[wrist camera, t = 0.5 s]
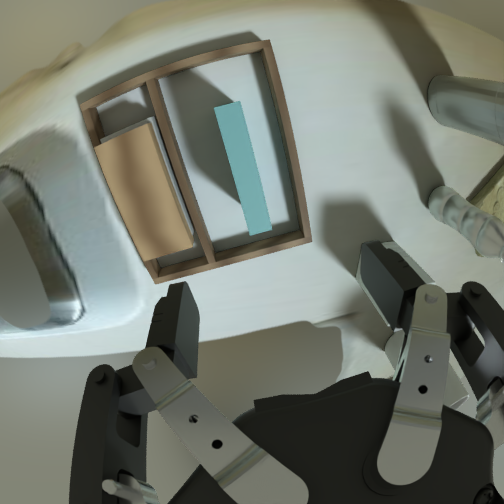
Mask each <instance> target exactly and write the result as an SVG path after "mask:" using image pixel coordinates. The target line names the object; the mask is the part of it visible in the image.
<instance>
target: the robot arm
mask: <svg viewBox="0 0 504 504" xmlns="http://www.w3.org/2000/svg"><path fill="white" fill-rule="evenodd" d="M428 103H429V107H430V110H431V113H432V115H433V116H434V118H435V119H436V121H438V122H439V123H440V124H441V125H443V126H447V127H450V128H454V129H457V130H460V131H463V132H467V133H470V134H473V135H476V136H479V137H482V138H484V139H487V140H490V141H493V142H495V143H498V144H500V145H503V146H504V83H503V82H497V81H491V80H485V79H478V78H469V77H459V76H447V75H439V76H436V77H434V78H433V80H432V81H431V83H430V85H429V88H428ZM360 275H361V279H362V282H363V284H364V285H365V287H366V288H367V290H368V291H369V293H370V295H371V296H372V298H373V299H374V301H375V302H376V304H377V306H378V307H379V309H380V310H381V312H382V314H383V315H384V317H385V319H386V320H387V322H388V323H389V325H390V327H391V328H392V330H393V332H396V331H399V330H402V329H403V331H404V333H405V334H404V337H403V341H402V345H401V350H400V354H399V358H398V362H397V366H396V370H395V373H394V376H393V379H392V380H390V379H384V378H371V376H370V373H369V371H367V372H364V373H361V374H358V375H355V376H352V377H349V378H346V379H342V380H340V381H339V382H337V383H335V384H333V385H331V386H330V387H328V388H326V389H324V390H322V391H320V392H318V393H316V394H305V395H278V396H273V397H268V398H262V399H257V400H254V406H255V408H252V409H250V410H248V411H247V412H245V413H243V414H241V415H240V416H238V417H237V418H236V419H235V420H234V421H233V422H230V421H229V420H228V419H227V418H226V417H225V416H224V415H223V414H222V413H221V412H220V411H219V410H218V409H217V408H216V407H215V406H214V405H213V404H212V403H211V402H210V401H209V400H208V399H207V398H206V397H205V396H204V395H203V394H202V393H201V392H200V391H199V390H198V389H197V388H196V386H195V385H194V384H193V383H192V382H191V381H188V379H190V378H197V361H198V340H199V323H200V316H199V311H198V307H197V305H196V302H195V300H194V298H193V295H192V293H191V290H190V288H189V286H188V283H187V282H186V281H185V282H180V283H175V284H170V285H169V288H168V293H167V296H166V297H161V299H160V300H159V301H158V303H157V304H156V305H155V309H154V313H153V317H152V321H151V322H152V323H151V325H150V330H149V334H148V338H147V343H146V347H145V349H143V350H141V351H140V352H139V353H138V354H137V355H136V356H135V358H134V360H133V363H132V365H129V366H127V367H124V368H122V369H119V370H116V371H115V370H114V369H113V368H112V367H111V366H110V365H107V364H103V365H99V366H97V367H96V368H94V369H93V370H92V371H91V372H90V374H89V376H88V378H87V382H86V387H85V390H84V395H83V400H82V404H81V409H80V414H79V419H78V425H77V430H76V437H75V443H74V450H73V458H72V467H71V477H70V492H69V504H160V503H159V501H158V496H157V493H156V491H155V489H154V488H153V487H152V486H151V485H150V484H148V483H146V443H147V442H146V441H147V418H148V412H151V411H154V410H158V411H159V413H160V414H161V416H162V417H163V418H164V420H165V421H166V423H167V424H168V425H169V426H170V428H171V429H172V430H173V432H174V433H175V434H176V435H177V437H178V438H179V439H180V441H181V442H182V443H183V444H184V445H185V447H186V448H187V449H188V450H189V451H190V453H191V454H192V455H193V456H194V457H195V458H196V459H197V461H198V462H199V463H200V465H199V466H198V467H197V468H196V470H195V471H194V472H193V474H192V475H191V476H190V477H189V479H188V480H187V481H186V482H185V483H184V485H183V486H182V487H181V488H180V490H179V491H178V492H177V493H176V494H175V495H174V497H173V498H172V499H171V500H170V501H169V502H168V504H504V499H503V498H502V497H501V496H500V494H499V493H498V491H497V490H496V488H495V486H494V482H493V456H494V450H495V449H496V448H498V447H499V446H500V445H502V444H503V443H504V310H503V309H502V308H501V306H500V305H499V304H498V303H497V301H496V300H495V299H494V298H493V296H492V295H491V294H490V293H489V292H488V291H487V289H486V288H485V287H484V286H483V285H481V284H479V283H477V282H473V281H470V282H466V283H465V284H463V286H462V289H461V292H457V293H445V291H444V290H443V289H442V288H440V287H439V286H437V285H434V284H426V283H425V282H424V281H423V279H422V278H421V277H420V276H419V275H418V274H417V273H416V271H415V270H414V269H413V268H412V267H411V266H409V264H408V263H407V262H406V261H405V259H404V258H403V257H402V256H401V255H400V254H399V253H398V252H396V251H394V250H392V249H390V248H388V249H386V248H385V247H384V246H383V245H382V243H381V242H380V241H378V240H375V241H371V242H366V243H363V244H362V246H361V265H360ZM475 327H476V328H477V329H478V331H479V332H480V334H481V335H482V337H483V338H484V341H485V347H484V346H483V344H482V342H481V341H480V339H479V338H478V336H477V335H476V333H475V332H474V329H475ZM450 349H451V351H452V352H453V354H454V356H455V358H456V359H457V361H458V363H459V365H460V367H461V369H462V370H463V372H464V374H465V376H466V378H467V380H468V382H469V384H470V386H471V388H472V390H473V392H474V394H475V396H476V398H477V400H478V403H477V407H476V408H477V409H476V411H477V414H476V417H475V418H476V419H474V418H471V417H469V416H467V415H465V414H463V413H461V412H459V411H456V410H454V409H452V408H450V407H448V406H446V405H444V404H443V401H444V395H445V389H446V382H447V374H448V365H449V355H450Z"/></svg>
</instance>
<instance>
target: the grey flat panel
mask: <svg viewBox="0 0 504 504" xmlns="http://www.w3.org/2000/svg"><path fill="white" fill-rule="evenodd" d="M148 123H152V126H153V129H154V132H155V135H156V138H157V141H158V144H159V147H160V150H161V152H162V155H163V158H164V161H165V164H166V167H167V170H168V172H169V175H170V178H171V181H172V183H173V186H174V189H175V192H176V194H177V197H178V200H179V202H180V205H181V208H182V210H183V213H184V215H185V218H186V221H187V223H188V226H189V228H190V231H191V233H192V235H193V233H194V227H193V224H192V221H191V219H190V216H189V213H188V211H187V208H186V205H185V202H184V200H183V197H182V194H181V191H180V189H179V186H178V183H177V180H176V177H175V174H174V172H173V169H172V166H171V163H170V160H169V157H168V154H167V151H166V148H165V145H164V142H163V139H162V136H161V133H160V130H159V127H158V124H157V121H156V117H155V116H153V117H150V118H147V119H145V120H142V121H140V122H137V123H135V124H133V125H130V126H128V127H126V128H124V129H121V130H119V131H117V132H115V133H113V134H110V135H108V136H106V137H104V138H102V139H100V141H101V144H103V143H105V142H107V141H109V140H111V139H113V138H115V137H117V136H119V135H122V134H124V133H126V132H128V131H131V130H133V129H135V128H138V127H140V126H143V125H145V124H148Z"/></svg>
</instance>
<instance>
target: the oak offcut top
mask: <svg viewBox="0 0 504 504" xmlns="http://www.w3.org/2000/svg"><path fill="white" fill-rule="evenodd" d="M94 149H95V152H96V155H97V157H98V160H99V163H100V165H101V168H102V170H103V173H104V175H105V178H106V180H107V183H108V185H109V188H110V190H111V192H112V195H113V197H114V199H115V202H116V204H117V206H118V209H119V211H120V213H121V215H122V217H123V220H124V222H125V224H126V226H127V228H128V230H129V232H130V235H131V237H132V239H133V241H134V243H135V245H136V247H137V249H138V251H139V253H140V255H141V257H142V259H143V261H147V260H151V259H154V258H158V257H161V256H164V255H168V254H171V253H175V252H178V251H182V250H185V249H188V248H192V247H193V243H194V238H193V236H192V233H191V231H190V228H189V226H188V223H187V221H186V218H185V215H184V213H183V210H182V208H181V205H180V202H179V200H178V197H177V194H176V192H175V189H174V186H173V183H172V181H171V178H170V175H169V172H168V170H167V167H166V164H165V161H164V158H163V155H162V152H161V150H160V147H159V144H158V141H157V138H156V135H155V132H154V129H153V126H152V123H148V124H145V125H143V126H140V127H138V128H135V129H133V130H131V131H128V132H126V133H124V134H122V135H119V136H117V137H115V138H113V139H111V140H109V141H107V142H105V143H103V144H101V145H98V146H96V147H95V148H94Z"/></svg>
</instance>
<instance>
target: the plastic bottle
mask: <svg viewBox="0 0 504 504" xmlns="http://www.w3.org/2000/svg"><path fill="white" fill-rule="evenodd" d="M428 205H429V210H430V213H431V214H432V215H433V217H434V218H435V219H436V220H438V221H440V222H442V223H444V224H447V225H449V226H450V227H452V228H453V229H455V230H457V231H458V232H459V233H460V234H462V235H463V236H464V237H465V238H466V239H467V240H468V241H469V242H470V243H471V244H472V245H473V247H474V248H475V249H476V250H477V251H478V252H479V253H480V254H481V256H484V257H486V258H500V261H501V262H502V263H504V223H503V222H502V221H501V220H500V219H499V218H497V217H496V216H493V215H491V214H489V213H487V212H485V211H483V210H481V209H479V208H477V207H475V206H474V205H472V204H471V203H469V202H468V201H467V200H465V199H464V198H463V197H461V196H460V195H459V194H458V193H457V192H456V191H455V190H454V189H452V188H450V187H447V186H440V187H437V188H436V189H435V190H434V191H433V192H432V193H431V195H430V197H429V202H428Z"/></svg>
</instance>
